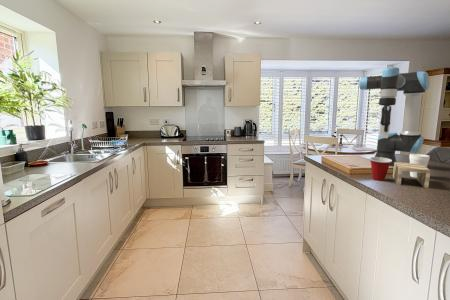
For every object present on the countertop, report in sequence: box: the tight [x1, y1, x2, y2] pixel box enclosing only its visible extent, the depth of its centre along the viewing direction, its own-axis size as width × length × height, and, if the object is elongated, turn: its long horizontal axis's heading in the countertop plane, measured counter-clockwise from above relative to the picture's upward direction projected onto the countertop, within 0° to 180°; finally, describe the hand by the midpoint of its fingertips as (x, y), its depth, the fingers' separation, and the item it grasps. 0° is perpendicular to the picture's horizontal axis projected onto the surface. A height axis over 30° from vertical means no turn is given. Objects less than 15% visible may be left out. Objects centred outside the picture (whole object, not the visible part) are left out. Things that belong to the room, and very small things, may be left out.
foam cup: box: [408, 153, 431, 179], centre depth 146 cm, size 10×9×13 cm
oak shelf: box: [392, 161, 432, 189], centre depth 135 cm, size 18×13×9 cm
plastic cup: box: [369, 156, 392, 182], centre depth 139 cm, size 11×11×12 cm
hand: (383, 137), depth 136 cm, fingers open, 13 cm apart
